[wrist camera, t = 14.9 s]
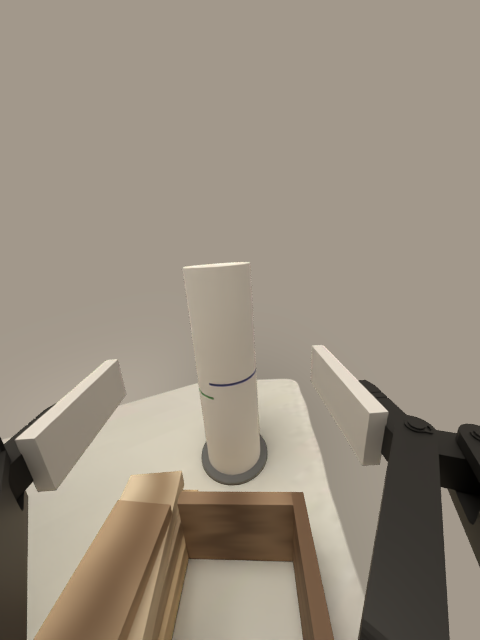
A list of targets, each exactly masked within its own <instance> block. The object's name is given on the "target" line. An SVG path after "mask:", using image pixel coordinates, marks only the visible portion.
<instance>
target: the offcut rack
mask: <svg viewBox="0 0 480 640" xmlns="http://www.w3.org/2000/svg"><path fill="white" fill-rule="evenodd" d="M183 487H184V480H183V475H182V471H175V472H163V473H151V474H139V475H131V476H130V478H129V480H128V483H127V485H126V487H125V489H124V491H123V494H122V496H121V498H120V500H118V501H117V502H116V504H115V506H114V507H113V509H112V511H111V512H110V514H109V516H108V517H107V519H106V521H105V522H104V524H103V526H102V527H101V529H100V530H99V532H98V534H97V535H96V537H95V539H94V540H93V542H92V544H91V545H90V547H89V549H88V550H87V552H86V554H85V555H84V557H83V559H82V560H81V562H80V563H79V565H78V567H77V568H76V570H75V572H74V573H73V575H72V577H71V578H70V580H69V582H68V583H67V585H66V587H65V588H64V590H63V592H62V593H61V595H60V596H59V598H58V600H57V601H56V603H55V605H54V606H53V608H52V610H51V611H50V613H49V615H48V616H47V618H46V620H45V621H44V623H43V625H42V626H41V628H40V629H39V631H38V633H37V634H36V636H35V638H34V639H33V640H172V635H173V631H174V626H175V621H176V616H177V611H178V607H179V602H180V597H181V592H182V588H183V583H184V578H185V573H186V568H187V564H188V559H189V558H190V559H226V560H262V561H293V565H294V572H295V580H296V588H297V595H298V603H299V611H300V618H301V626H302V634H303V640H334V637H333V633H332V628H331V623H330V618H329V614H328V609H327V604H326V599H325V594H324V590H323V585H322V580H321V575H320V571H319V566H318V561H317V556H316V551H315V547H314V542H313V537H312V532H311V528H310V523H309V518H308V513H307V508H306V504H305V499H304V494H303V492H198V490H183Z"/></svg>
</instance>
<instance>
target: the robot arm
mask: <svg viewBox="0 0 480 640" xmlns="http://www.w3.org/2000/svg"><path fill="white" fill-rule="evenodd" d="M311 383H312V384H313V386H314V387H315V389H316V391H317V392H318V394H319V396H320V397H321V399H322V400H323V402H324V404H325V405H326V407H327V409H328V410H329V412H330V414H331V415H332V417H333V418H334V420H335V422H336V424H337V425H338V427H339V429H340V430H341V432H342V433H343V435H344V437H345V438H346V440H347V442H348V443H349V445H350V447H351V448H352V450H353V451H354V453H355V455H356V456H357V458H358V459H359V461H360V463H361V465H362V466H368V465H380V460H381V454H382V455H383V456H384V457H385V459H386V460H387V461H388V466H387V471H386V477H385V483H384V489H383V495H382V501H381V507H380V513H379V518H378V525H377V530H376V536H375V542H374V548H373V554H372V560H371V566H370V572H369V578H368V583H367V590H366V595H365V601H364V607H363V613H362V619H361V625H360V630H359V636H358V640H449V622H448V605H447V588H446V572H445V555H444V537H443V520H442V503H441V487H444V488H447V489H448V491H449V493H450V496H451V498H452V501H453V503H454V506H455V508H456V510H457V513H458V515H459V518H460V520H461V522H462V525H463V527H464V529H465V532H466V535H467V537H468V539H469V542H470V544H471V547H472V549H473V552H474V554H475V556H476V559H477V561H478V563H479V566H480V426H478V425H474V424H463V425H461V426H460V427H459V429H458V432H457V433H451V432H445V431H439V430H436V429H435V428H433V426H431V424H429V423H427V422H426V421H424V420H422V419H420V418H417V417H414V416H409V415H406V414H405V413H404V412H403V411H402V410H401V409H399V407H397V406H396V405H395V404H394V403H393V402H392V401H391V400H390V399H389V398H387V396H386V395H385V394H383V393H382V392H381V391H380V390H379V389H378V388H377V387H376V386H375V385H373V384H371V383H370V382H368V381H366V380H359V381H358V380H357V379H356V378H355V377H354V376H353V375H352V374H351V373H350V372H349V371H348V370H347V369H346V368H345V367H344V366H343V365H342V364H341V363H340V362H339V361H338V360H337V359H336V358H335V357H334V356H333V355H332V354H331V353H330V352H329V351H328V349H326V347H324V346H323V345H317V346H312V359H311ZM125 396H126V390H125V387H124V382H123V378H122V374H121V370H120V366H119V362H118V359H114V360H106V361H105V362H104V363H102V364H101V365H100V366H99V367H98V368H97V369H96V370H94V371H93V372H92V373H91V374H90V375H89V376H87V377H86V378H85V379H84V380H83V381H82V382H81V383H79V384H78V385H77V386H76V387H75V388H74V389H73V390H71V391H70V392H69V393H68V394H67V395H66V396H64V397H63V398H62V399H61V400H60V401H59V402H58V403H56V404H54V405H52V406H50V407H49V408H47V409H45V410H44V411H43V412H42V413H40V414H39V415H38V416H37V417H36V419H33V420H32V421H31V422H30V423H29V424H28V425H27V426H25V427H24V428H23V429H22V430H20V431H19V432H18V433H17V434H16V435H14V436H13V437H12V438H11V439H10V440H9V441H7V442H6V443H5V444H3V442H2V440H1V438H0V640H27V557H28V495H27V493H26V491H25V490H26V489H27V488H28V487H29V485H30V484H31V483H32V482H34V485H35V487H36V489H37V491H38V492H41V491H54V490H57V488H58V487H59V486H60V484H61V483H62V482H63V480H64V479H65V478H66V476H67V475H68V473H69V472H70V471H71V469H72V468H73V467H74V465H75V464H76V463H77V461H78V460H79V458H80V457H81V456H82V454H83V453H84V452H85V450H86V449H87V448H88V446H89V445H90V443H91V442H92V441H93V439H94V438H95V437H96V435H97V434H98V433H99V431H100V430H101V428H102V427H103V426H104V424H105V423H106V422H107V420H108V419H109V418H110V416H111V415H112V413H113V412H114V411H115V409H116V408H117V407H118V405H119V404H120V403H121V401H122V400H123V398H124V397H125Z"/></svg>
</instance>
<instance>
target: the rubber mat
mask: <svg viewBox="0 0 480 640" xmlns="http://www.w3.org/2000/svg"><path fill="white" fill-rule="evenodd" d="M259 435H260V434H259ZM266 460H267V447H266V443H265V441H264V439H263V438H262V436H261V435H260V456H259V459H258V461H257V463H256V464H255V465H254V466H253V467H252V468H251V469H249V470H248V471H246V472H244V473H241V474H237V475H227V474H223V473H221V472H219V471H217V470H216V469H215V468H214V467H213V466H212V465H211V463H210V460H209V455H208V448H207V441H206V443H205V445H204V447H203V450H202V463H203V467H204V470H205V471H206V473H207V474H208V475H209V477H211V478H212V479H213V480H215V481H216V482H219V483H221V484H225V485H238V484H242V483H246V482H248V481H250V480H252V479H253V478H255V477H256V476H257V475H258V474H259V473H260V472H261V471H262V469H263V467H264V466H265V463H266Z"/></svg>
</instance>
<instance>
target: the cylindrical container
mask: <svg viewBox="0 0 480 640" xmlns="http://www.w3.org/2000/svg"><path fill="white" fill-rule="evenodd" d="M183 276H184V283H185V291H186V297H187V305H188V312H189V319H190V326H191V334H192V341H193V348H194V355H195V363H196V369H197V377H198V384H199V391H200V398H201V406H202V413H203V420H204V427H205V434H206V441H207V448H208V455H209V460H210V463H211V465H212V466H213V467H214V468H215V469H216V470H217V471H219V472H221V473H223V474H227V475H237V474H241V473H244V472H246V471H248V470H249V469H251V468H252V467H253V466H254V465H255V464H256V463H257V461H258V459H259V456H260V435H259V416H258V398H257V379H256V361H255V342H254V324H253V305H252V286H251V269H250V262H235V263H218V264H206V265H196V266H188V267H183Z"/></svg>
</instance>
